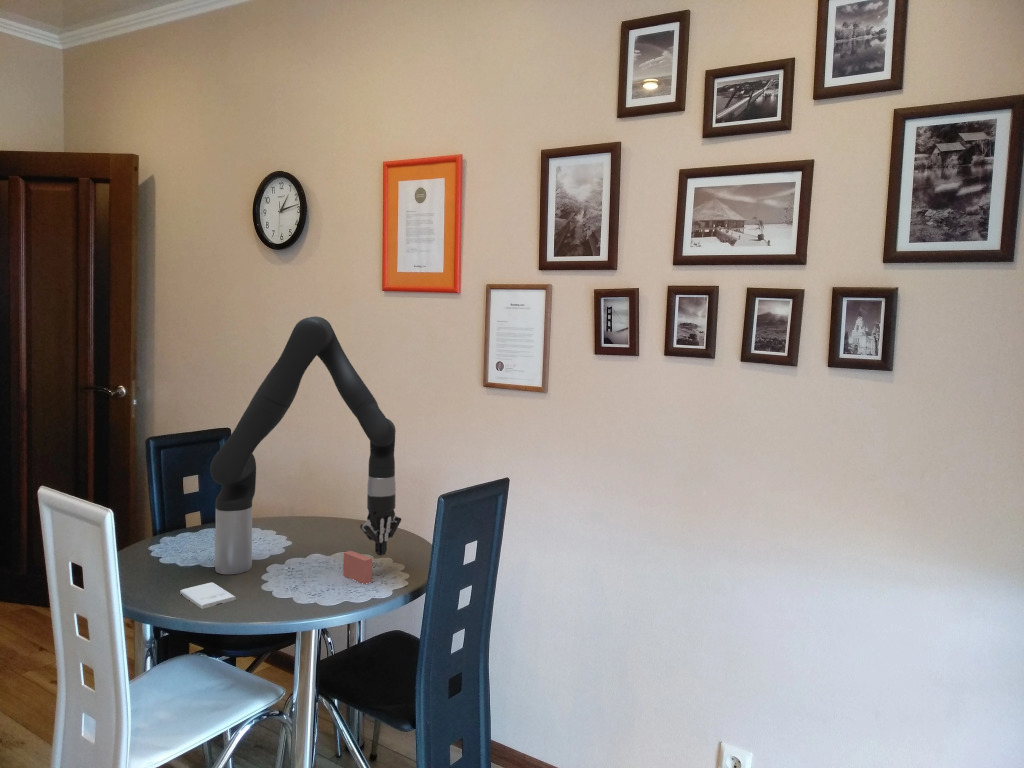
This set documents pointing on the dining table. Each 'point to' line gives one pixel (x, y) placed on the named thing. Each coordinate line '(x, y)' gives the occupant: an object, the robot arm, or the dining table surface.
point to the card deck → (357, 567)
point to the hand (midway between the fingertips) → (380, 554)
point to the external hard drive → (207, 595)
